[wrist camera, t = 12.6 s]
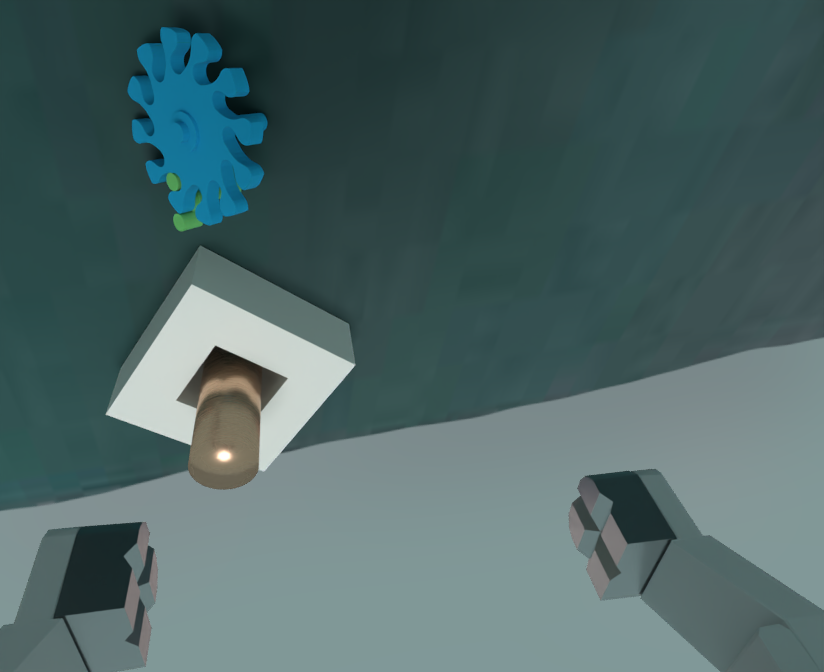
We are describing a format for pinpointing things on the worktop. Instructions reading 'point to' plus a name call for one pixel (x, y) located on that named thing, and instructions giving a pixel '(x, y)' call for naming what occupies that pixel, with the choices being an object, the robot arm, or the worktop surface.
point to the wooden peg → (227, 422)
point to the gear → (195, 128)
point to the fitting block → (239, 334)
